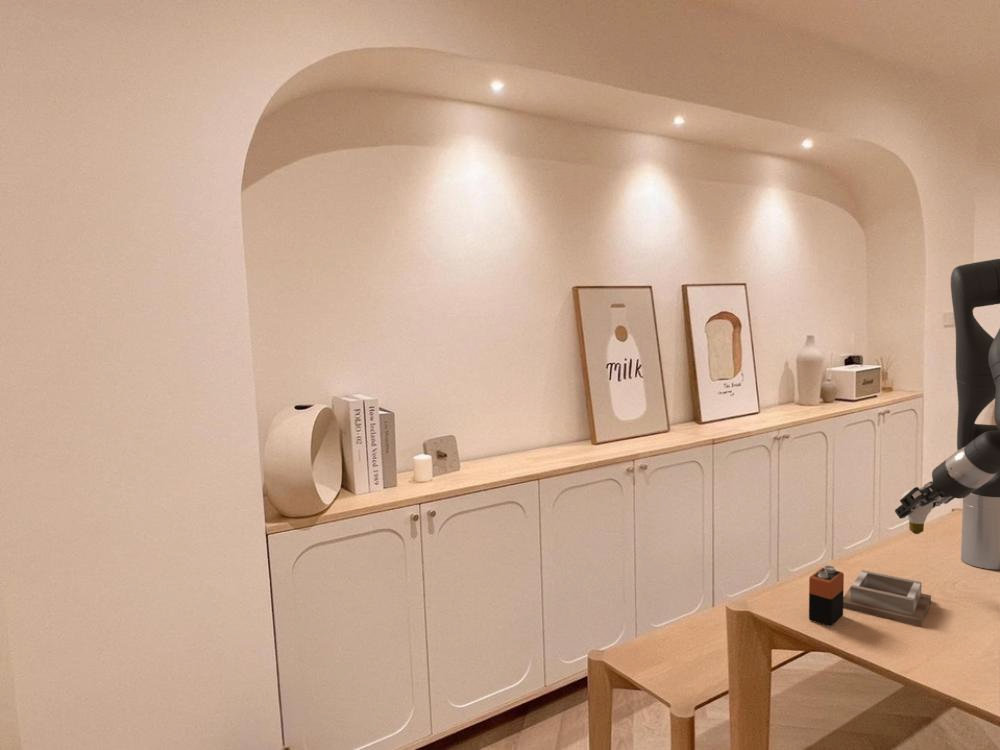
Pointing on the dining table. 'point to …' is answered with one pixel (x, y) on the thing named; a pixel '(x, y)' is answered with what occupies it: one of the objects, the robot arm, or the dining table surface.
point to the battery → (826, 595)
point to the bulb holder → (888, 597)
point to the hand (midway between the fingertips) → (909, 512)
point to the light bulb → (918, 517)
